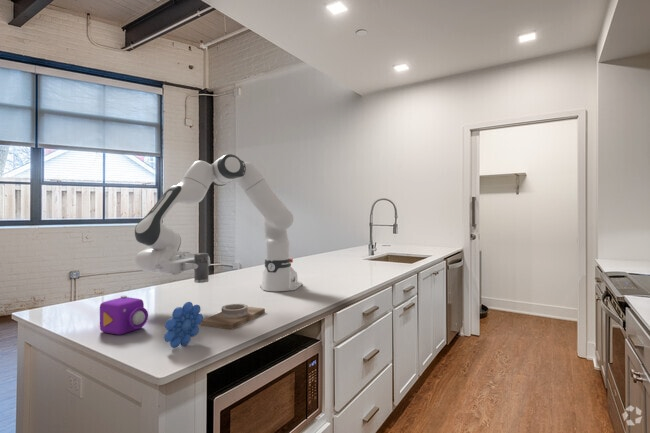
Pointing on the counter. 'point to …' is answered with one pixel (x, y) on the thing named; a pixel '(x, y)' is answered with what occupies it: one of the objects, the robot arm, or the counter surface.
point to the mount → (233, 316)
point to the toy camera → (122, 315)
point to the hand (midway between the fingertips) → (203, 265)
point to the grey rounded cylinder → (201, 268)
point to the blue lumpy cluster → (183, 325)
